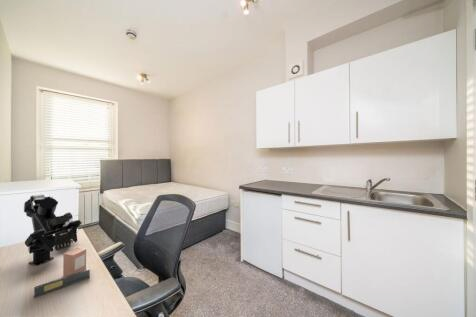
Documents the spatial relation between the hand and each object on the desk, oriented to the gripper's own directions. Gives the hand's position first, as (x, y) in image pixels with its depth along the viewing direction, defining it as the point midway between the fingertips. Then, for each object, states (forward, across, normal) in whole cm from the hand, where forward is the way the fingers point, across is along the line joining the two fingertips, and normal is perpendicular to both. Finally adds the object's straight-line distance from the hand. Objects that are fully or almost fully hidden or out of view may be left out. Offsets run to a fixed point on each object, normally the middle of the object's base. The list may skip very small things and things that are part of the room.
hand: (65, 246), depth 82 cm
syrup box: (-16, +21, +32) cm, 42 cm away
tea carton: (+12, 0, +4) cm, 13 cm away
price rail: (+16, -7, +1) cm, 17 cm away
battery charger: (-11, +16, +27) cm, 33 cm away
